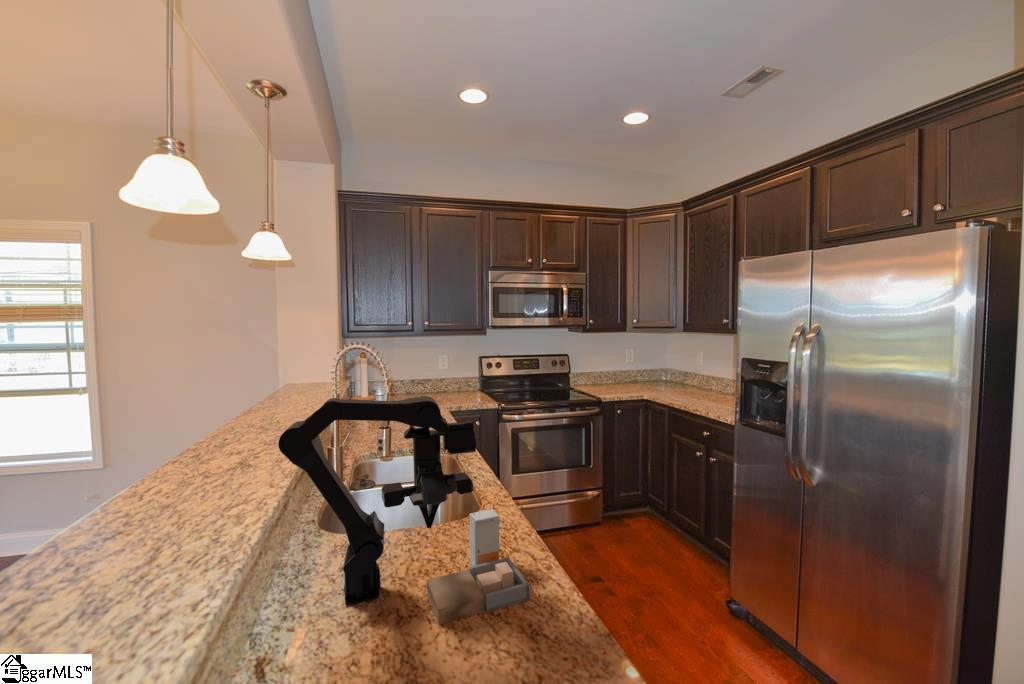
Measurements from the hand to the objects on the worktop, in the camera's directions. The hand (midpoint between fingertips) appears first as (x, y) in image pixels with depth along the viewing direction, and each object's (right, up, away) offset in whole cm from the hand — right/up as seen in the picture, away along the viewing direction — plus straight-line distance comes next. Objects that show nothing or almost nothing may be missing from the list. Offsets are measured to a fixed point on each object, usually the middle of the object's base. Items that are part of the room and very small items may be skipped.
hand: (428, 527), depth 93 cm
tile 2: (+15, -9, -3) cm, 18 cm away
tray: (+15, -12, -3) cm, 19 cm away
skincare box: (+12, -12, +7) cm, 18 cm away
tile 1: (+13, -11, -4) cm, 18 cm away
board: (+6, -12, -6) cm, 15 cm away
